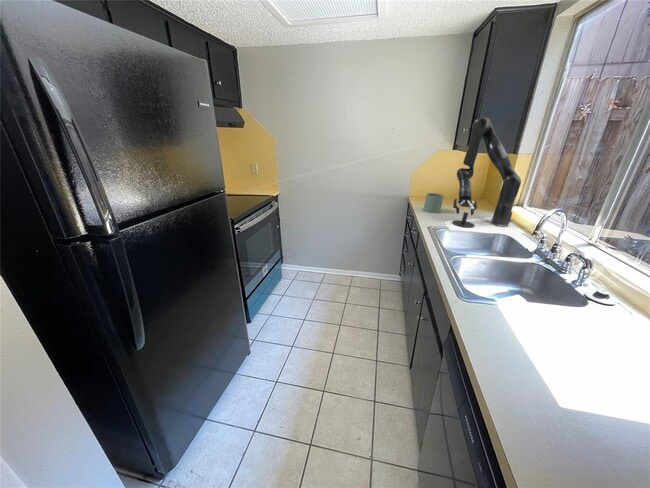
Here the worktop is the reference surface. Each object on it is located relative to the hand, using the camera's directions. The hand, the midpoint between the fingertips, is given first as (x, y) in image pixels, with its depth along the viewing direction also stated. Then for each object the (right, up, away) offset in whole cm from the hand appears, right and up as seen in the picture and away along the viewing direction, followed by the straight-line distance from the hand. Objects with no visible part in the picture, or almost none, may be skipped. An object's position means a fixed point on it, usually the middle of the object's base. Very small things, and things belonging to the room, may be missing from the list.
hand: (465, 214), depth 171 cm
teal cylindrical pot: (-9, +7, +33) cm, 34 cm away
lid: (0, -7, +2) cm, 7 cm away
